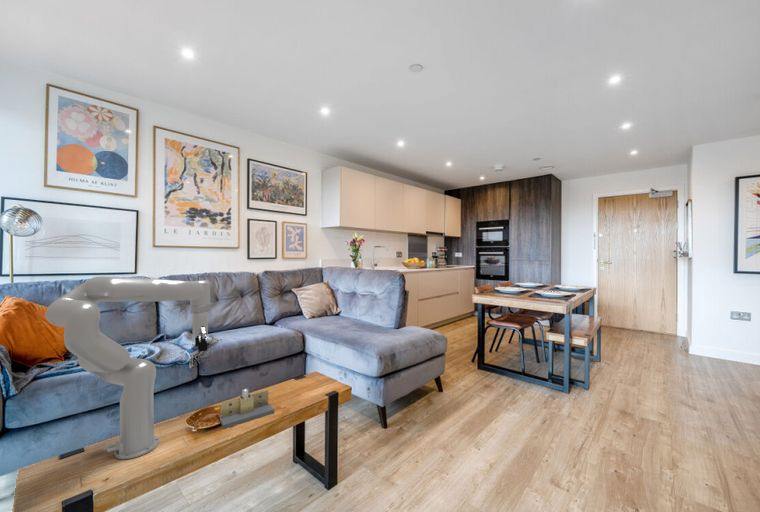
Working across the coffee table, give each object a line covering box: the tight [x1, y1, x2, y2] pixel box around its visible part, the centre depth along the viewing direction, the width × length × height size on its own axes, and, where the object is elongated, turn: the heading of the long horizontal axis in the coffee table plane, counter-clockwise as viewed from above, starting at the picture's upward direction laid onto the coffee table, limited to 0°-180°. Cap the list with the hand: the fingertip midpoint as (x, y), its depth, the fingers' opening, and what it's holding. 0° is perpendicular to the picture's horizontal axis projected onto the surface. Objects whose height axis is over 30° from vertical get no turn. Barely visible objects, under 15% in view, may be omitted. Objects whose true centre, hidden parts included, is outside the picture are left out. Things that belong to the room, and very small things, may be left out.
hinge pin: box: [241, 387, 249, 399], centre depth 137 cm, size 2×2×9 cm
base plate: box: [219, 402, 275, 429], centre depth 137 cm, size 20×14×2 cm
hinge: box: [220, 390, 269, 418], centre depth 137 cm, size 19×5×6 cm, turn 127°
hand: (201, 348), depth 137 cm, fingers open, 9 cm apart
